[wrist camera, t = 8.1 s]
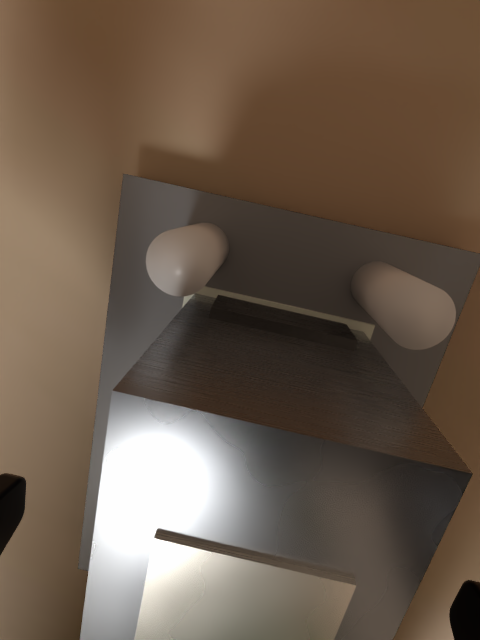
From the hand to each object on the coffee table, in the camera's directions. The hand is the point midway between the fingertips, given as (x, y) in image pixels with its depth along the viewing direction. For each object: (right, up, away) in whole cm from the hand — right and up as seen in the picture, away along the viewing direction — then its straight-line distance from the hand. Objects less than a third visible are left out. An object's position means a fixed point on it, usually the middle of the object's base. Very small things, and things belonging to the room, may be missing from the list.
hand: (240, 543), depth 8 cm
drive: (0, +1, +3) cm, 4 cm away
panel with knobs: (0, +1, +4) cm, 5 cm away
